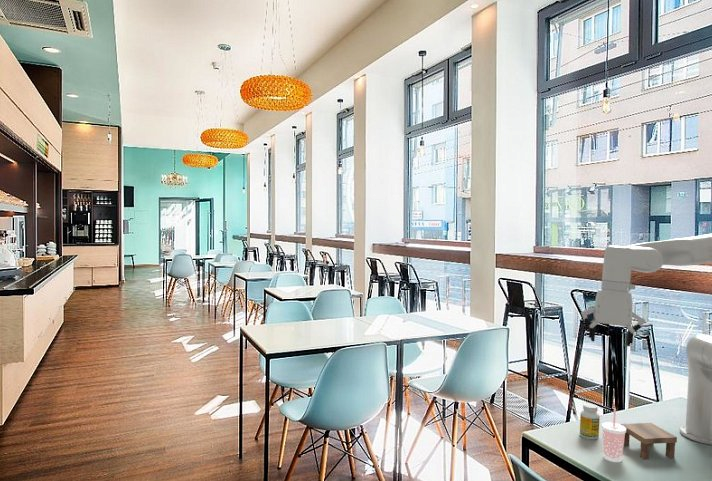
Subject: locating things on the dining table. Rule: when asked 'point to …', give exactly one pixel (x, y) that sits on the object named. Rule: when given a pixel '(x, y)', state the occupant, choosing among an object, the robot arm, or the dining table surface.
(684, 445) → the dining table surface
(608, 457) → the beverage cup
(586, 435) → the supplement bottle
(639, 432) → the footstool
